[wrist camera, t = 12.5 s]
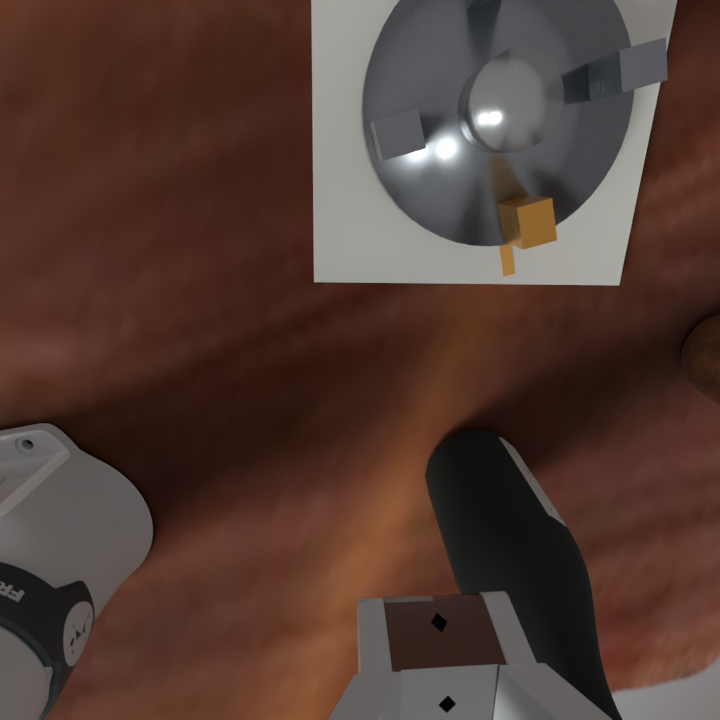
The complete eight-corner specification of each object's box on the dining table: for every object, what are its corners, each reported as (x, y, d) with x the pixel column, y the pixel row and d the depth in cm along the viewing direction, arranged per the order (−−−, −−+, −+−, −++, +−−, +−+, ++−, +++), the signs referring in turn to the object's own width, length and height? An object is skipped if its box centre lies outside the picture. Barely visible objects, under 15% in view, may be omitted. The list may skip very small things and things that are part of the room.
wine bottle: (520, 422, 42) (899, 926, 14) (512, 502, 45) (815, 1055, 17) (423, 426, 42) (617, 952, 14) (421, 507, 45) (578, 1081, 17)
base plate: (314, 277, 37) (313, 282, 35) (311, -104, 29) (310, -118, 28) (608, 281, 38) (619, 285, 37) (679, -83, 31) (697, -96, 29)
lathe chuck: (514, 282, 36) (548, 304, 31) (314, 161, 33) (312, 160, 27) (664, 61, 32) (736, 38, 26) (453, -108, 28) (483, -176, 23)
